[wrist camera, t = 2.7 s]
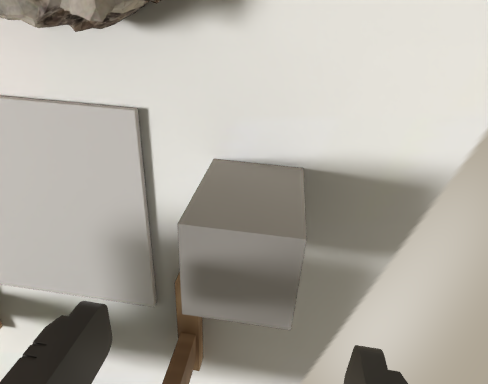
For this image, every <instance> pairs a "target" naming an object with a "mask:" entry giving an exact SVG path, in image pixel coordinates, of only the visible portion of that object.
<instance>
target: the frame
mask: <svg viewBox="0 0 488 384" xmlns="http://www.w3.org/2000/svg"><path fill="white" fill-rule="evenodd" d="M175 295H176V311H177V328H178V342H177V344H176V347H175V350H174V353H173V355H172V358H171V361H170V364H169V367H168V369H167V372H166V375H165V378H164V380H163V383H162V384H189V382H190V378H191V375H192V371H193V370H197V371H199V370H200V366H201V363H202V359H203V334H202V317H198V316H191V315H184V314H182V303H181V283H180V272H179V275H178V277H177V279H176V281H175ZM1 327H2V323H1V321H0V328H1Z"/></svg>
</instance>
